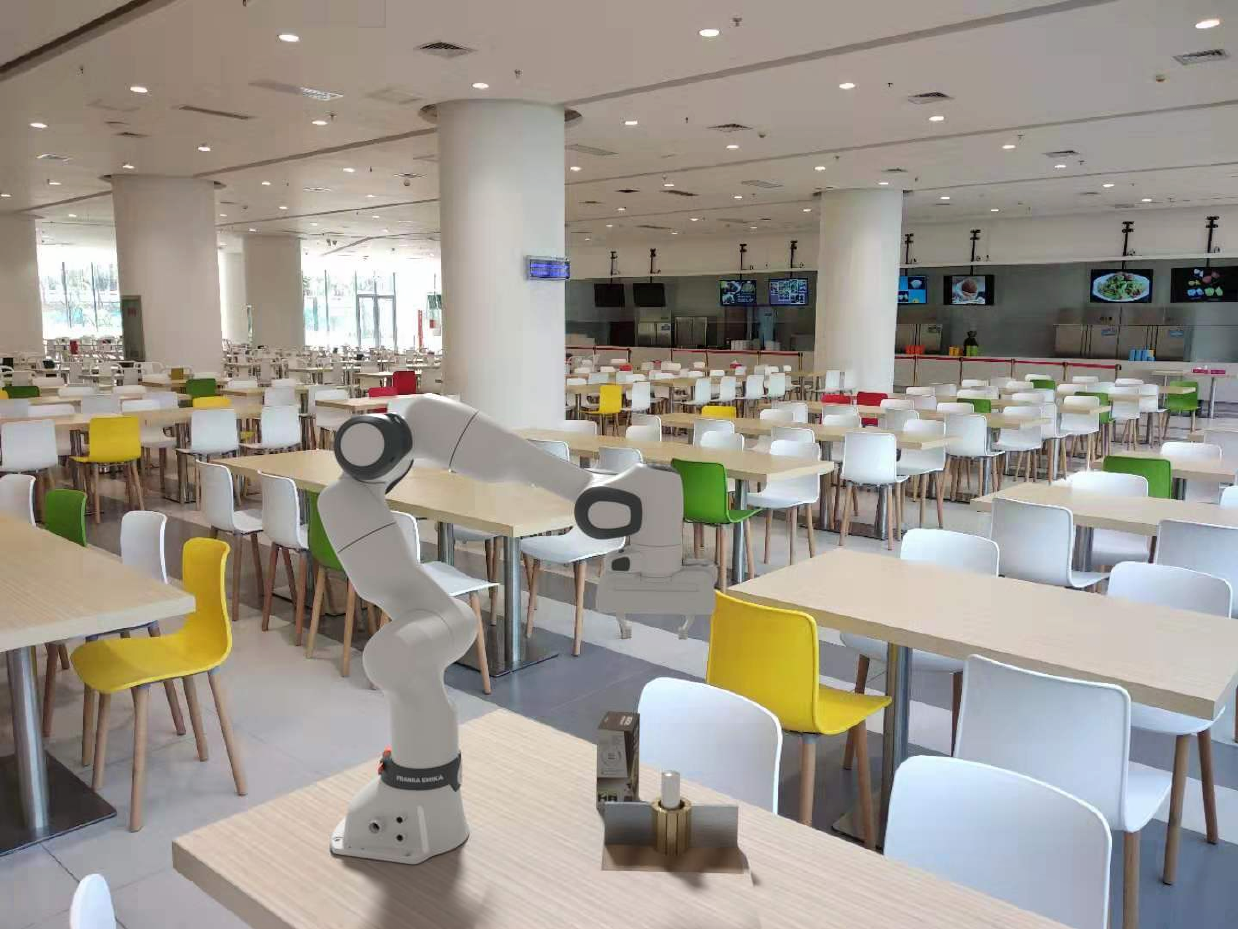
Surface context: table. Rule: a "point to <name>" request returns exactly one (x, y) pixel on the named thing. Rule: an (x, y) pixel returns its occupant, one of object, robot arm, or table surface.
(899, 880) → the table surface
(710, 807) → the hinge
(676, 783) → the hinge pin
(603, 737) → the coffee box
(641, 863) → the walnut base
